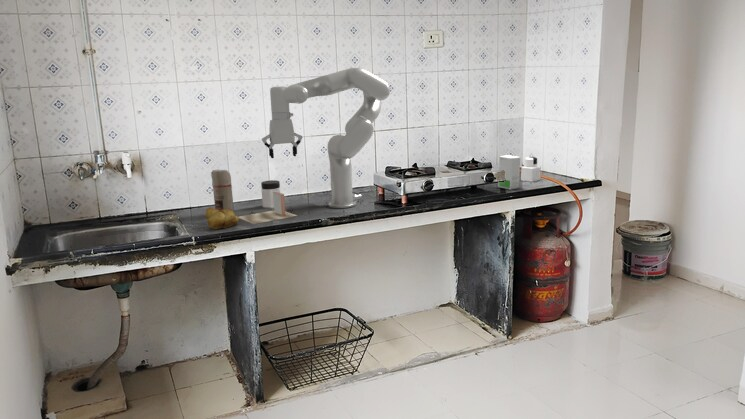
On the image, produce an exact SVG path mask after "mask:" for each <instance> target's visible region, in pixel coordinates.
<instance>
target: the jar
mask: <svg viewBox="0 0 745 419" xmlns="http://www.w3.org/2000/svg"><path fill="white" fill-rule="evenodd" d="M260 185H261V198H262V199H261V200H262V202H261V203H262V208H268V209H269V208H270V209H274V201H273V192H279V193H281V182H280V180H275V179H274V180H264V181H261V184H260Z"/></svg>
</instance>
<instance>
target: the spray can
mask: <svg viewBox="0 0 745 419" xmlns="http://www.w3.org/2000/svg"><path fill="white" fill-rule="evenodd" d="M210 176H211V185H212V191H213V201H214V209H216V210H219V211H221V210H223V209H228V210H231V211H233V212H234V213H235V206H234V197H233V186H232V177H231V176H232V175H231V173H230V172H229V170H228V169H219V168H217V169H212V171H211V172H210Z"/></svg>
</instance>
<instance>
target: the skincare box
mask: <svg viewBox="0 0 745 419" xmlns="http://www.w3.org/2000/svg"><path fill="white" fill-rule="evenodd" d="M498 164H499V165H498V167H499V168H498V171H499V170H504V171H505V174H506V181H504V182H499V181H498V182H497V186H498V187H497V188H501V189H506V190H515V189H519V188H520V175H521V172H520V171H521V156H517V155H511V154H505V155H500V156H499V162H498Z"/></svg>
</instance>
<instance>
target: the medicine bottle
mask: <svg viewBox="0 0 745 419" xmlns="http://www.w3.org/2000/svg"><path fill="white" fill-rule="evenodd" d="M520 171H521V172H520V180H521V181H522V182H523V181H524V182H529V183H530V182H531V183H534V182H538V181H540V180H541V166H539V165H538V158H537V157H535V156H526V157H524V166H520Z"/></svg>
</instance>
